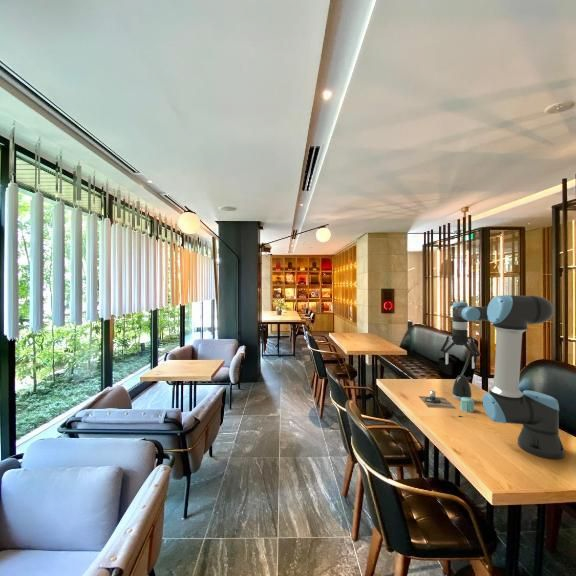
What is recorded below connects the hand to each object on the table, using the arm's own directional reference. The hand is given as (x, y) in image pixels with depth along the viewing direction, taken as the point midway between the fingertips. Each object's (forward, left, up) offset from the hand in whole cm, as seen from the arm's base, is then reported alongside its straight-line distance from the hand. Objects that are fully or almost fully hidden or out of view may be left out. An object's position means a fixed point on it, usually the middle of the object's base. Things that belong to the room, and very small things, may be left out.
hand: (459, 366), depth 175 cm
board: (+3, +12, -23) cm, 26 cm away
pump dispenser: (+11, -6, -23) cm, 26 cm away
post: (+5, +13, -22) cm, 26 cm away
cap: (-7, -1, -23) cm, 24 cm away
